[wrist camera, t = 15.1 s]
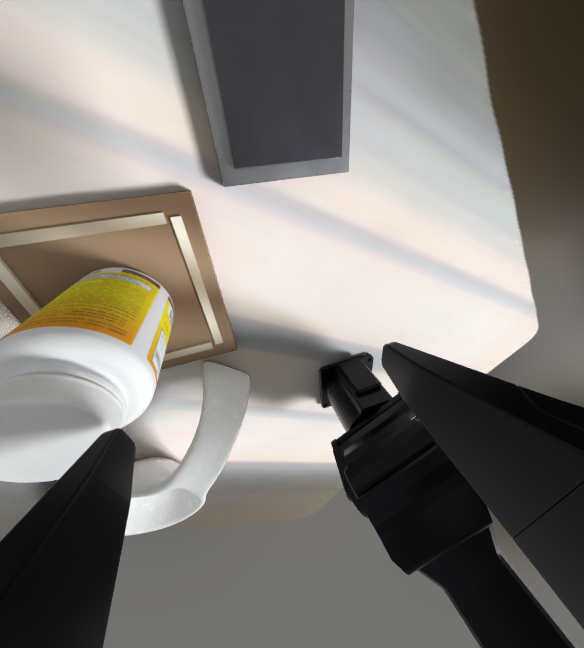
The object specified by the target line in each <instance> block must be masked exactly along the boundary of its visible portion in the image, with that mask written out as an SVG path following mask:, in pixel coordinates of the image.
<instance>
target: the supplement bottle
mask: <svg viewBox="0 0 584 648" xmlns="http://www.w3.org/2000/svg"><path fill="white" fill-rule="evenodd" d="M173 319H174V305H173V302H172V299H171V297H170V295H169V294H168V292H167V291H166V290H165V288H164V287H163V286H162V285H161V284H160V283H158V282H157V281H156V280H155V279H153V278H151V277H150V276H148V275H146V274H144V273H141V272H139V271H136V270H132V269H128V268H117V267H115V268H105V269H100V270H97V271H94V272H92V273H90V274H88V275H86V276H85V277H83V278H82V279H80V280H79V281H78V282H76V283H75V284H74V285H72V286H71V287H70V288H68V289H67V290H66V291H64V292H63V293H62V294H60V295H59V296H58V297H56V298H55V299H54V300H52V301H51V302H50V303H48V304H47V305H46V306H44V307H43V308H42V309H40V310H39V311H38V312H36V313H35V314H34V315H32V316H31V317H30V318H28V319H27V320H26V321H24V322H23V323H22V324H20V325H19V326H18V327H17V328H15V329H14V330H12V331H11V332H10V333H8V334H7V335H6V336H4V337H3V338H2V339H0V481H8V482H24V483H26V482H45V481H53V480H58V479H60V478H61V477H62V476H63V474H64V473H65V472H66V471H67V470H68V469H69V468H70V467H71V466H72V465H73V464H74V463H75V462H76V461H77V460H78V459H79V457H80V456H81V455H82V454H83V453H84V452H85V451H86V450H87V449H88V448H89V447H90V446H91V445H92V444H93V443H94V442H95V440H96V439H97V438H98V437H99V436H100V435H101V434H102V433H104V432H106V431H110V430H113V429H116V428H120V429H121V428H122V427H124V426H126V425H128V424H130V423H131V422H133V421H134V420H135V419H137V418H138V417H139V416H140V415H141V414H142V413H143V412H144V411H145V410H146V408H147V407H148V406H149V404H150V402H151V400H152V398H153V395H154V392H155V389H156V385H157V381H158V377H159V373H160V369H161V366H162V362H163V358H164V355H165V351H166V347H167V343H168V339H169V335H170V331H171V327H172V323H173Z"/></svg>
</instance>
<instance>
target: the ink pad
mask: <svg viewBox="0 0 584 648" xmlns="http://www.w3.org/2000/svg"><path fill="white" fill-rule="evenodd" d="M182 2H183V7H184V11H185V16H186V20H187V25H188V29H189V34H190V38H191V42H192V47H193V51H194V56H195V60H196V65H197V69H198V74H199V78H200V83H201V87H202V91H203V96H204V100H205V105H206V109H207V114H208V118H209V123H210V127H211V132H212V136H213V140H214V145H215V149H216V154H217V158H218V163H219V167H220V172H221V176H222V181H223V185H224V187H227V186H235V185H244V184H252V183H260V182H268V181H277V180H285V179H293V178H301V177H310V176H318V175H326V174H335V173H343V172H349V145H350V114H351V83H352V52H353V21H354V0H182Z"/></svg>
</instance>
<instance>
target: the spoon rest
mask: <svg viewBox="0 0 584 648" xmlns="http://www.w3.org/2000/svg"><path fill="white" fill-rule="evenodd" d="M249 393H250V377H249V375H247V374H246V373H243V372H241V371H238V370H234V369H232V368H229V367H226V366H223V365H221V364H217V363H214V362H209V361H206V362H204V363H203V405H202V412H201V417H200V421H199V425H198V428H197V431H196V433H195V436H194V439H193V441H192V443H191V445H190V447H189V449H188V451H187V453H186V455H185V456H184V458H183V460H182V461H181V463H180V464H179V463H178V462H177V461H175V460H173V459H170V458H164V457H152V458H146V459H142V460H138V461H136V462H134V472H133V483H132V495H131V503H130V509H129V514H128V520H127V525H126V530H125V535H134V534H140V533H145V532H150V531H154V530H158V529H162V528H165V527H168V526H171V525H173V524H176V523H178V522H180V521H182V520H184V519H186V518H188V517H189V516H191V515H192V514H194V513H195V512H197V511H198V510H199V509H200V508H201V507H202V506H203V504H204V503H205V500H206V494H207V492H208V490H209V489H210V487H211V486H212V485H213V483H214V482H215V480H216V479H217V477H218V475H219V474H220V472H221V470H222V468H223V467H224V465H225V463H226V460H227V459H228V456H229V454H230V452H231V450H232V447H233V445H234V443H235V440H236V438H237V435H238V433H239V430H240V427H241V424H242V421H243V418H244V415H245V411H246V407H247V404H248V399H249ZM125 535H124V536H125Z"/></svg>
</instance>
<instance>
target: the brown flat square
mask: <svg viewBox="0 0 584 648" xmlns="http://www.w3.org/2000/svg"><path fill="white" fill-rule="evenodd" d="M115 267H117V268H128V269H132V270H136V271H139V272H141V273H144V274H146V275H148V276H150V277H151V278H153V279H155V280H156V281H157V282H158V283H160V284H161V285H162V286H163V287H164V288H165V290H166V291H167V292H168V294H169V295H170V297H171V299H172V302H173V305H174V319H173V323H172V327H171V331H170V335H169V339H168V343H167V347H166V351H165V355H164V358H163V362H162V366H161V369H165V368H168V367H172V366H176V365H180V364H184V363H188V362H192V361H195V360H199V359H203V358H207V357H211V356H215V355H219V354H222V353H226V352H230V351H234V350H237V346H236V342H235V339H234V335H233V332H232V329H231V325H230V322H229V318H228V315H227V312H226V308H225V305H224V301H223V298H222V295H221V291H220V288H219V285H218V281H217V278H216V274H215V271H214V268H213V264H212V261H211V257H210V254H209V251H208V247H207V244H206V240H205V237H204V234H203V230H202V227H201V224H200V220H199V217H198V213H197V210H196V207H195V203H194V200H193V196H192V193H191V191H183V192H174V193H166V194H158V195H150V196H141V197H133V198H125V199H116V200H108V201H100V202H92V203H83V204H75V205H67V206H58V207H50V208H42V209H33V210H25V211H17V212H9V213H0V300H1V301H2V303H3V304H4V305H5V306H6V307H7V308H8V309H9V310H10V311H11V313H12V314H13V315H14V316H15V317H16V318H17V319H18V320H19V321H20V323H21V324H22V323H23V322H24V321H26V320H27V319H28V318H30V317H31V316H32V315H34V314H35V313H36V312H38V311H39V310H40V309H42V308H43V307H44V306H46V305H47V304H48V303H50V302H51V301H52V300H54V299H55V298H56V297H58V296H59V295H60V294H62V293H63V292H64V291H66V290H67V289H68V288H70V287H71V286H72V285H74V284H75V283H76V282H78V281H79V280H80V279H82V278H83V277H85V276H86V275H88V274H90V273H92V272H94V271H97V270H100V269H105V268H115ZM161 369H160V370H161Z"/></svg>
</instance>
